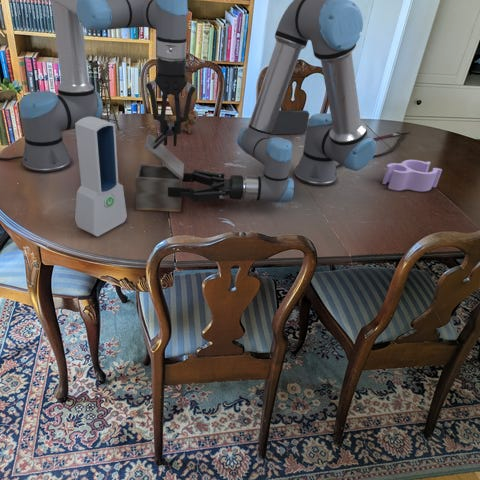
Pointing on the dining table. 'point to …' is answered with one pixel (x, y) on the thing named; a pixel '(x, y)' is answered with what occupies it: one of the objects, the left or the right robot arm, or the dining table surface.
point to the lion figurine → (190, 121)
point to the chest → (156, 188)
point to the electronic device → (98, 177)
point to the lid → (165, 152)
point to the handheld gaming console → (291, 122)
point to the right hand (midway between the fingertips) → (169, 184)
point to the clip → (411, 176)
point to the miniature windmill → (102, 81)
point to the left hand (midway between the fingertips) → (170, 143)
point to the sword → (389, 135)
